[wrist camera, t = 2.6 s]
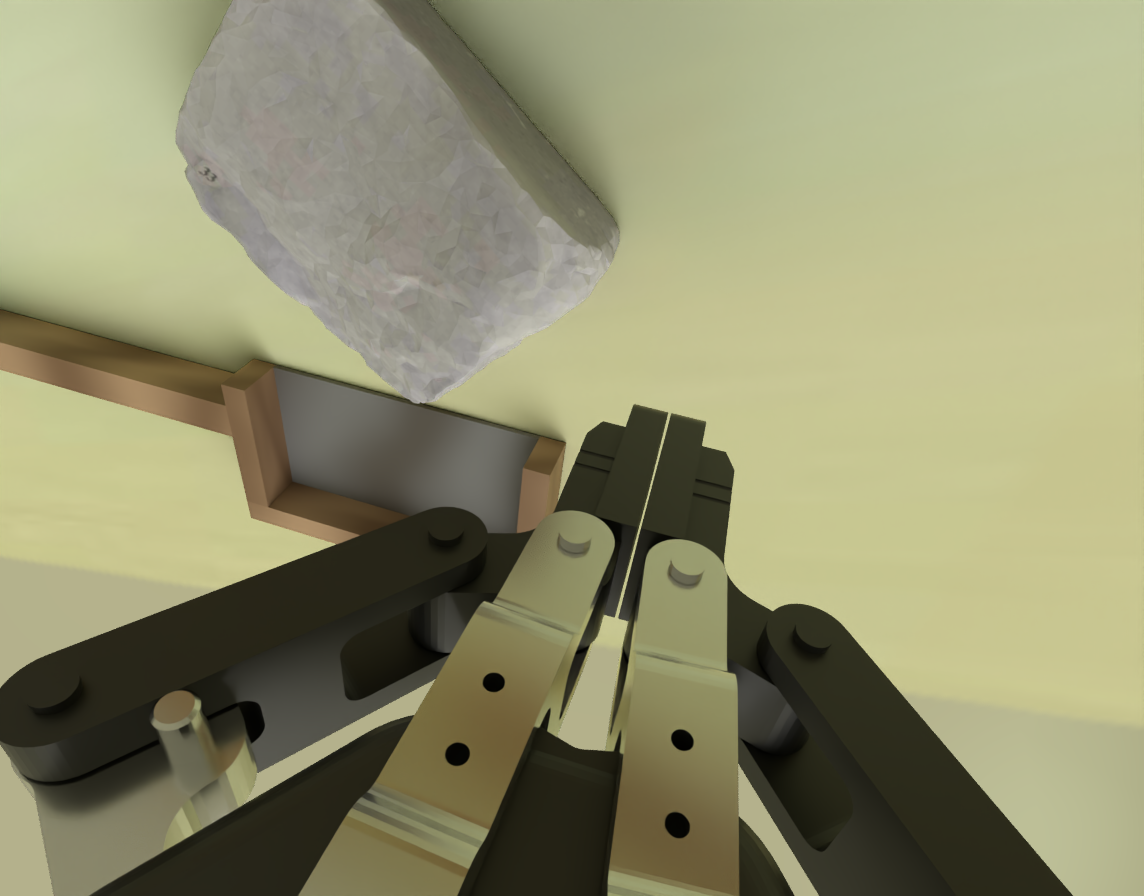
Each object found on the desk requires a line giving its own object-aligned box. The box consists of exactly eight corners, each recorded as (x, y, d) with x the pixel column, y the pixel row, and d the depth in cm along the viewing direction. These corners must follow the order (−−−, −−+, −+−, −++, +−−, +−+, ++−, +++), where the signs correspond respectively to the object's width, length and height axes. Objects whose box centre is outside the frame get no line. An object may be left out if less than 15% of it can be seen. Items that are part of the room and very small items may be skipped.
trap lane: (704, -522, 13) (678, -624, 10) (547, 569, 30) (525, 622, 28) (-483, -598, 17) (-693, -681, 14) (-6, 405, 35) (-65, 439, 32)
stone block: (484, 368, 28) (661, 224, 20) (414, 445, 25) (594, 308, 17) (247, 125, 25) (355, -143, 18) (134, 176, 22) (210, -122, 15)
